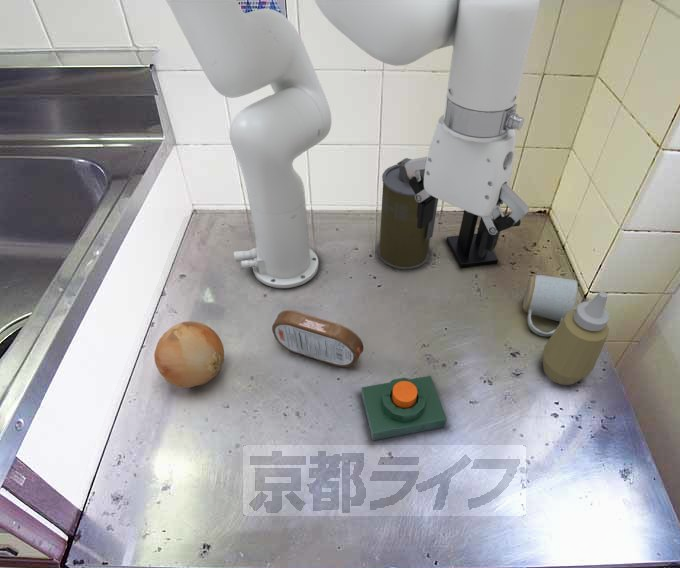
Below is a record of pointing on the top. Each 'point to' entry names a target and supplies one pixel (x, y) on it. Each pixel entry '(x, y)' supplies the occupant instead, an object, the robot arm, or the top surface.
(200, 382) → the onion
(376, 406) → the button box
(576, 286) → the ceramic mug
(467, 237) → the bracket
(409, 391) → the button
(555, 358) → the squeeze bottle
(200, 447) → the top surface
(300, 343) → the tin
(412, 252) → the canister
